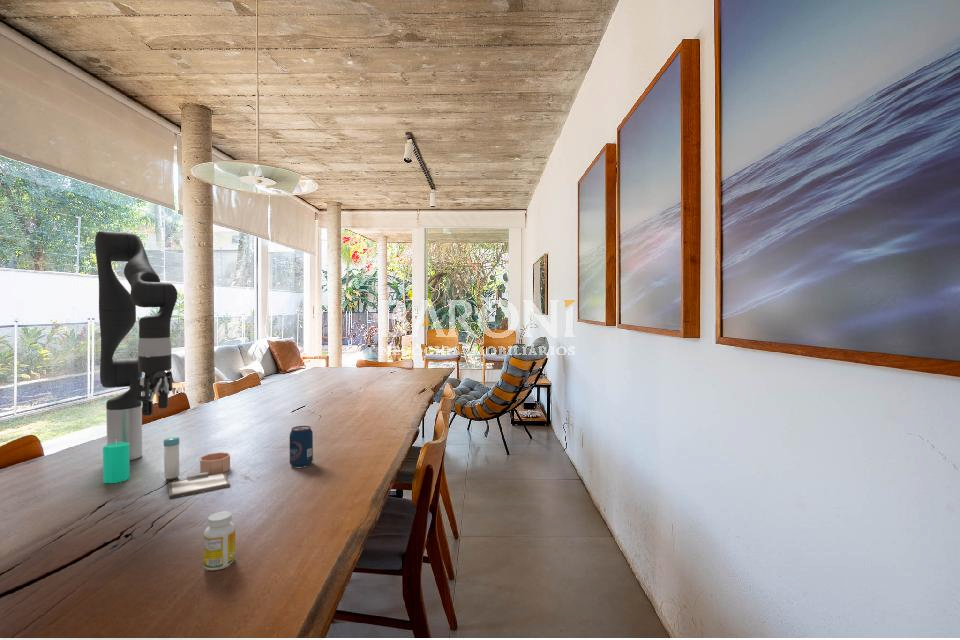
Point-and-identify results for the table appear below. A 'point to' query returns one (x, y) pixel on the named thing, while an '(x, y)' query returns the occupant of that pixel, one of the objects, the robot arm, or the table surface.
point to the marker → (171, 458)
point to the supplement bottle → (219, 540)
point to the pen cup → (215, 463)
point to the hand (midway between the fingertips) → (155, 411)
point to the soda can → (301, 446)
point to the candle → (116, 462)
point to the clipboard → (198, 484)
